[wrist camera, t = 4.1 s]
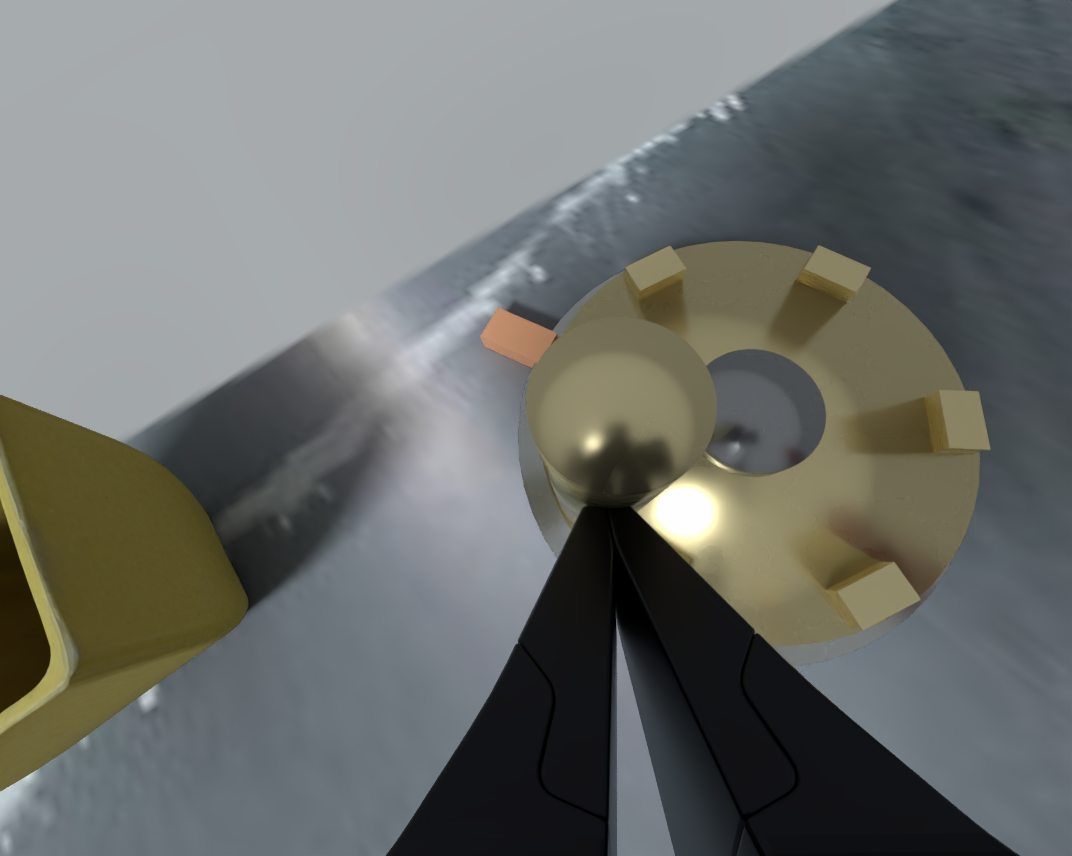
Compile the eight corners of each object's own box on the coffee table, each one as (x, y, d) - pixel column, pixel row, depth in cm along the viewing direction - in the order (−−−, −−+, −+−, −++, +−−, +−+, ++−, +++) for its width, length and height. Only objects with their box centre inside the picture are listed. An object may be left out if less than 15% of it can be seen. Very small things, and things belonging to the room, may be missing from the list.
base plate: (902, 754, 15) (995, 811, 12) (455, 547, 18) (426, 545, 15) (988, 325, 19) (1077, 274, 15) (604, 219, 22) (608, 158, 19)
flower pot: (315, 621, 18) (71, 679, 9) (123, 762, 17) (-334, 967, 9) (229, 452, 20) (-26, 376, 12) (58, 569, 20) (-348, 578, 11)
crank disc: (785, 213, 20) (1019, -183, 9) (1039, 517, 16) (2029, 431, 5) (484, 358, 19) (365, 115, 9) (660, 716, 15) (853, 1104, 4)
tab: (558, 343, 20) (557, 333, 19) (542, 372, 20) (539, 363, 19) (501, 318, 21) (497, 307, 20) (485, 346, 21) (480, 336, 20)
